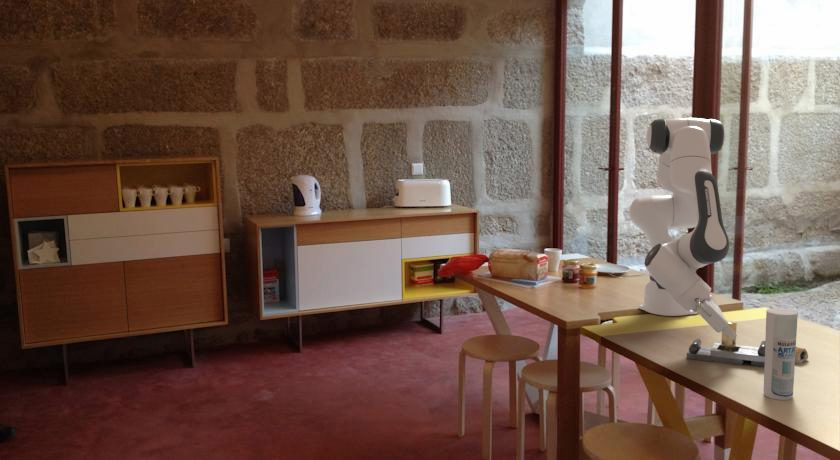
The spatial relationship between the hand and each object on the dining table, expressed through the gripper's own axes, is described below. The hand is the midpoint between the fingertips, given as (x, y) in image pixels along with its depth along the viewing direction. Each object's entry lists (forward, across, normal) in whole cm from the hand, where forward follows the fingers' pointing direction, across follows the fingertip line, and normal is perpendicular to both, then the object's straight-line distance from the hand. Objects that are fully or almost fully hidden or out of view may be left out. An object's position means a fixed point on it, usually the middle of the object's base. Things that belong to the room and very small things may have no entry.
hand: (731, 332), depth 208 cm
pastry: (+16, +3, -5) cm, 17 cm away
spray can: (+10, -27, +1) cm, 29 cm away
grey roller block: (+5, 0, +6) cm, 7 cm away
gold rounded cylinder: (+5, 0, +6) cm, 7 cm away
